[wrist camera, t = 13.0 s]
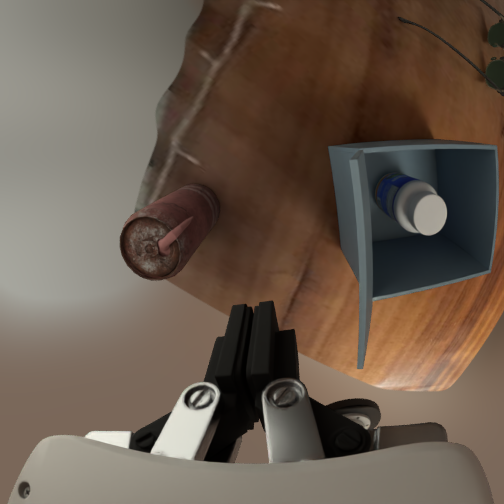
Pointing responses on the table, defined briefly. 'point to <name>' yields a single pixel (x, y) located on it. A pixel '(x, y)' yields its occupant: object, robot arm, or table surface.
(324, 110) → the table surface
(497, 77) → the sunglasses
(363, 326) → the flap
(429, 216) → the pill bottle
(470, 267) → the carton
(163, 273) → the can
